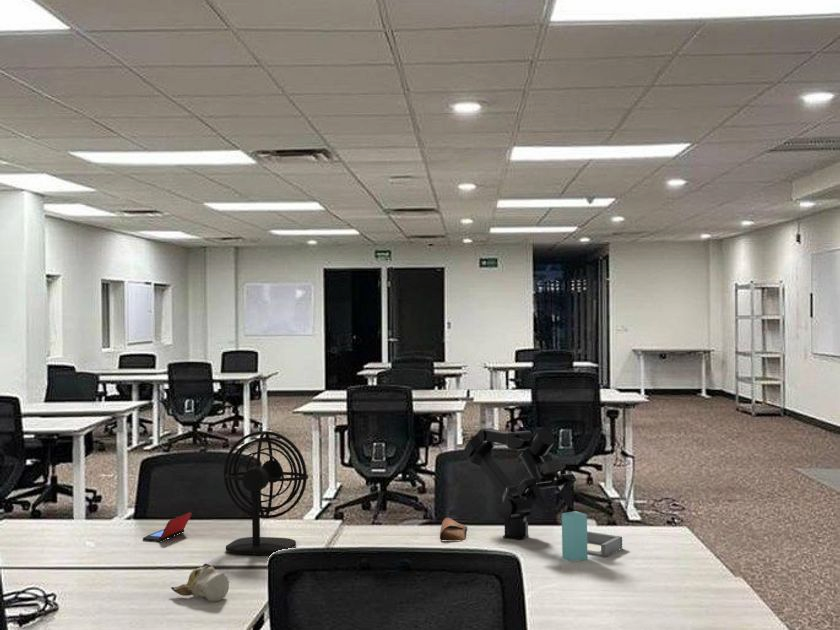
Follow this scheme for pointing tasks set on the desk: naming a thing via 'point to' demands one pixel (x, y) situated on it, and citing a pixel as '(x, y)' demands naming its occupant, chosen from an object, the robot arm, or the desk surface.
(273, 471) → the desk fan
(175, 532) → the handheld game console
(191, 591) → the ceramic sculpture
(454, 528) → the sunglasses case
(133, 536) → the desk surface
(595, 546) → the tray
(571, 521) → the block
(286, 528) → the desk surface
